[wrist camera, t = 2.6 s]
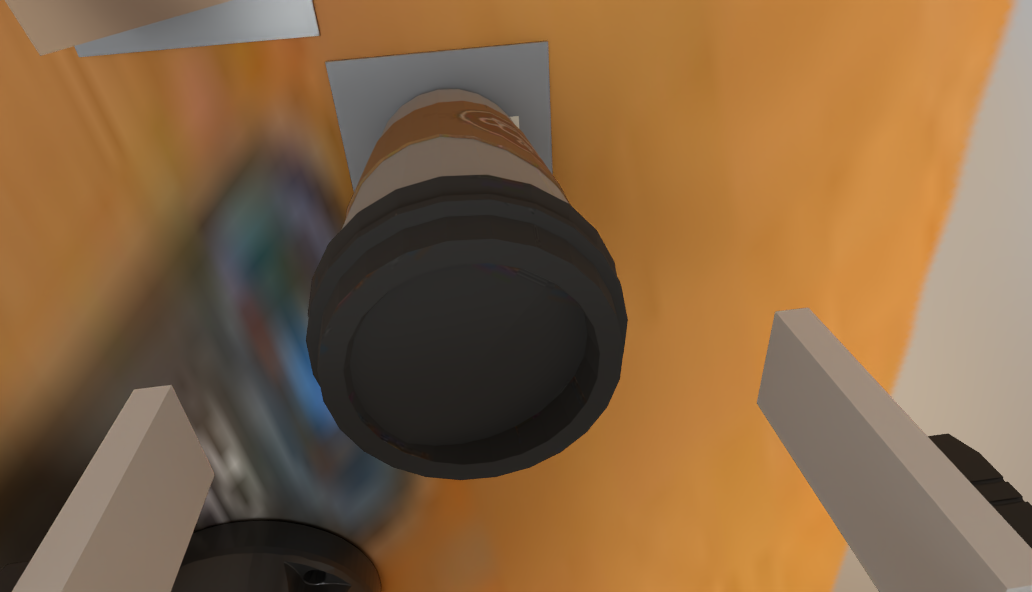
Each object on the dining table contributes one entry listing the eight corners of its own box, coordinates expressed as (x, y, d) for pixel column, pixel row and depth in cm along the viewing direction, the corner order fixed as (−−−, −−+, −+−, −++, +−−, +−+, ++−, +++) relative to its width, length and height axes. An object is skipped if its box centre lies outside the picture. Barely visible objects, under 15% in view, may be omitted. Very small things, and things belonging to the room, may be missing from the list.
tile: (369, 257, 30) (368, 259, 29) (325, 61, 25) (325, 62, 25) (553, 236, 30) (554, 237, 30) (547, 40, 25) (548, 41, 25)
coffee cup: (582, 137, 28) (715, 332, 15) (472, 272, 31) (507, 529, 18) (424, 15, 24) (426, 133, 12) (318, 180, 27) (226, 418, 15)
